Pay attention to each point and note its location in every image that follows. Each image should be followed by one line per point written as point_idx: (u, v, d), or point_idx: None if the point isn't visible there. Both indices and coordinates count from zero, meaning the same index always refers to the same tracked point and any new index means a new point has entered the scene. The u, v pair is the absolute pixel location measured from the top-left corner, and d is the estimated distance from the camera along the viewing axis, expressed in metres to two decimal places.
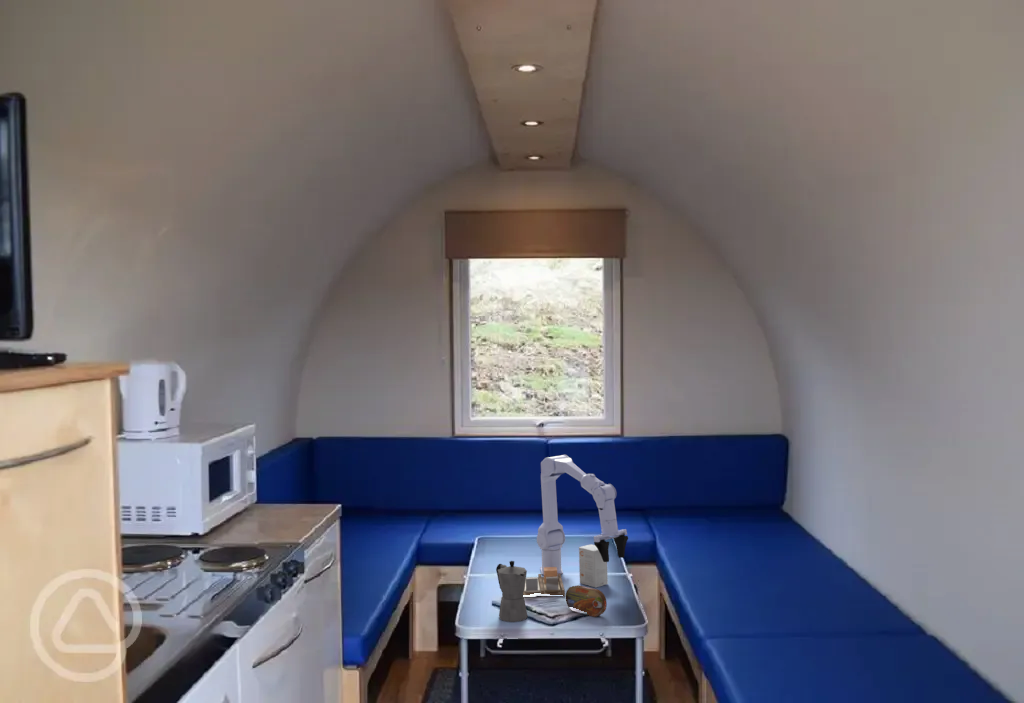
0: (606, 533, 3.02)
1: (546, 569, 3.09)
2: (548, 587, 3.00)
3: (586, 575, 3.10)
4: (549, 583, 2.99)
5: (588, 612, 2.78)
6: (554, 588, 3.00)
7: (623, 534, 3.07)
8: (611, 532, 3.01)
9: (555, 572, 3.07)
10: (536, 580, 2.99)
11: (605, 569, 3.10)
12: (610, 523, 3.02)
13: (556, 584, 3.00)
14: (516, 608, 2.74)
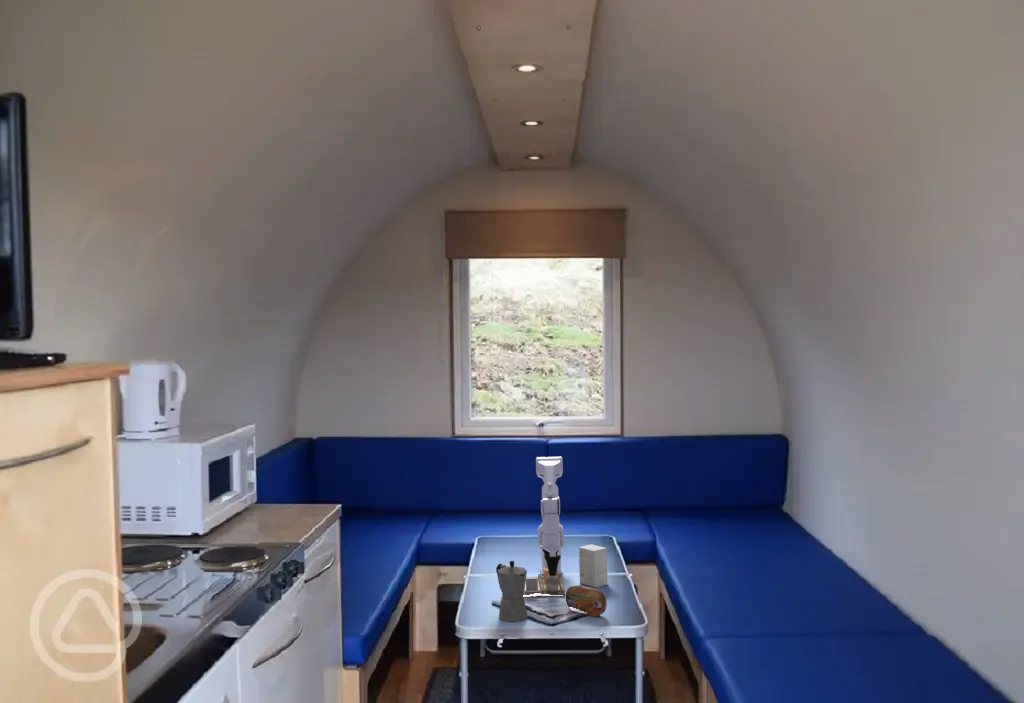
0: None
1: (546, 569, 3.09)
2: (548, 587, 3.00)
3: (586, 575, 3.10)
4: (549, 583, 2.99)
5: (588, 612, 2.78)
6: (554, 588, 3.00)
7: None
8: None
9: None
10: (536, 580, 2.99)
11: (605, 569, 3.10)
12: None
13: (556, 584, 3.00)
14: (516, 608, 2.74)
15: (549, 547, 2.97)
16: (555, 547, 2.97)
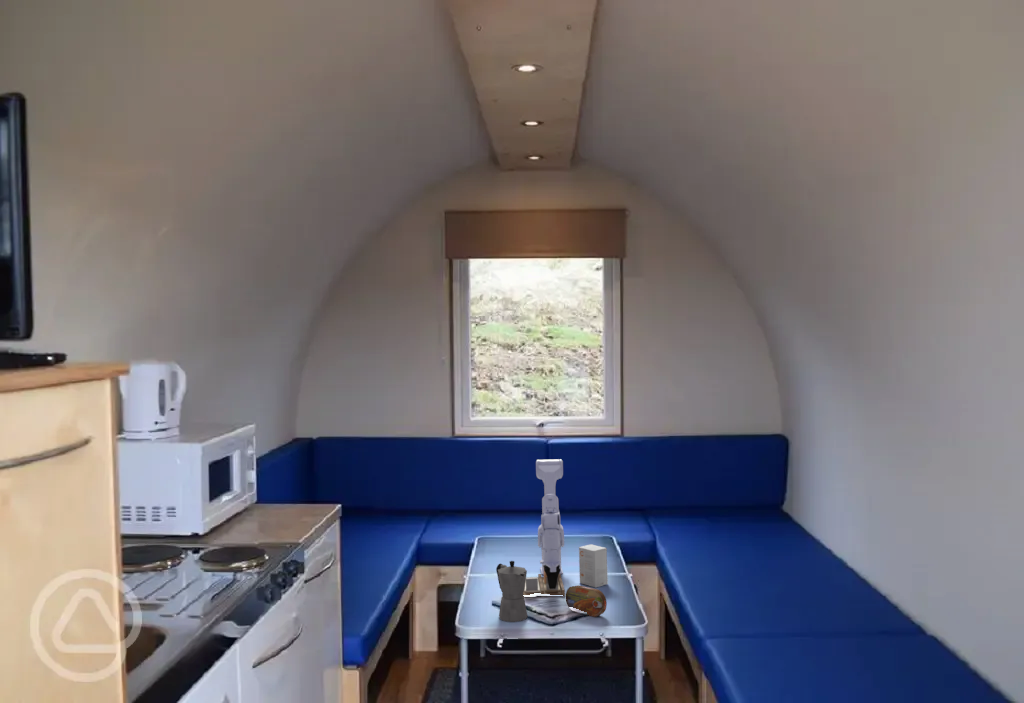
0: None
1: None
2: (548, 587, 3.00)
3: (586, 575, 3.10)
4: None
5: (588, 612, 2.78)
6: None
7: None
8: None
9: None
10: (536, 580, 2.99)
11: (605, 569, 3.10)
12: None
13: None
14: (516, 608, 2.74)
15: (549, 562, 2.97)
16: (555, 562, 2.98)
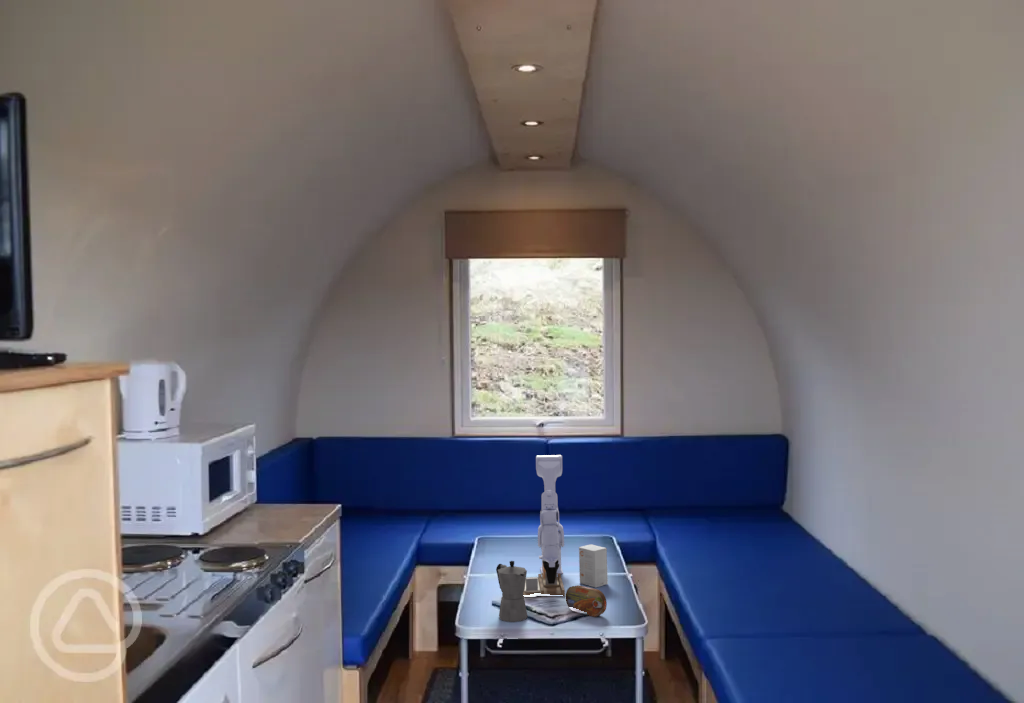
0: None
1: None
2: (547, 582, 3.05)
3: (586, 575, 3.10)
4: None
5: (588, 612, 2.78)
6: None
7: None
8: None
9: None
10: (536, 580, 2.99)
11: (605, 569, 3.10)
12: None
13: (555, 579, 3.05)
14: (516, 608, 2.74)
15: (548, 558, 3.03)
16: (554, 558, 3.04)
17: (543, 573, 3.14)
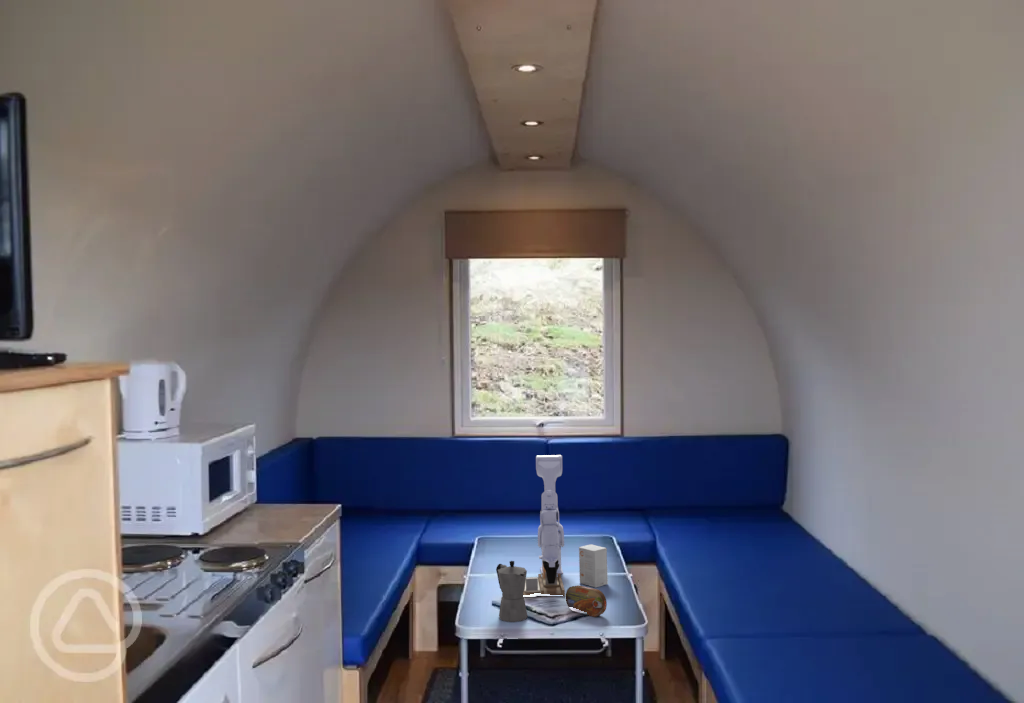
0: None
1: None
2: (547, 582, 3.05)
3: (586, 575, 3.10)
4: None
5: (588, 612, 2.78)
6: None
7: None
8: None
9: None
10: (536, 580, 2.99)
11: (605, 569, 3.10)
12: None
13: (555, 579, 3.05)
14: (516, 608, 2.74)
15: (548, 558, 3.03)
16: (554, 558, 3.04)
17: (543, 573, 3.14)
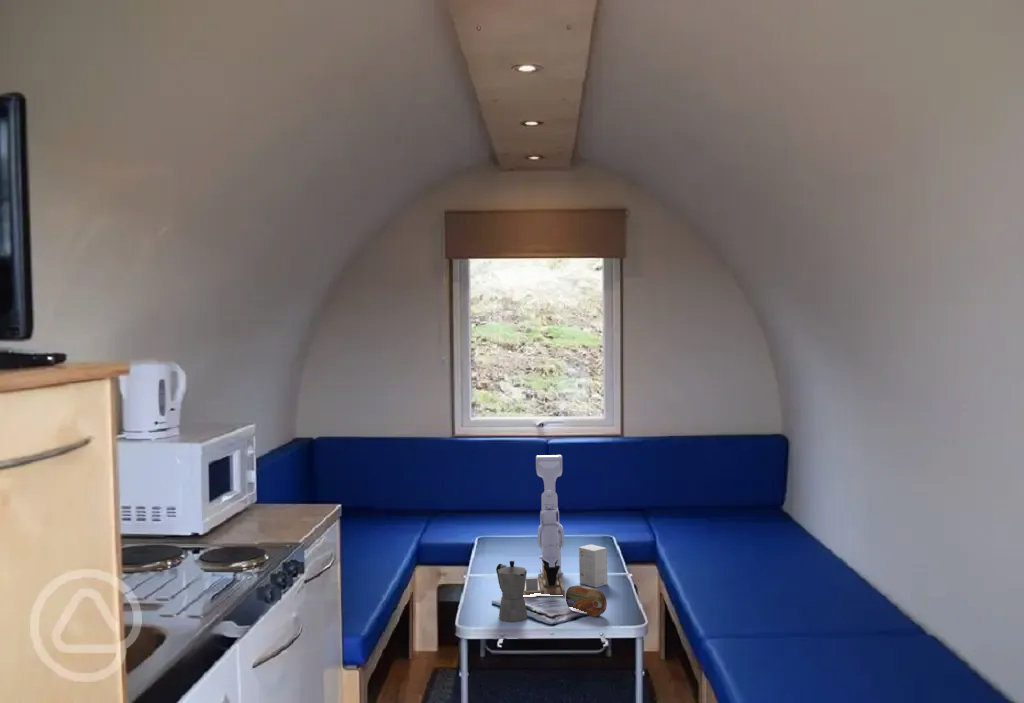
0: None
1: None
2: (547, 582, 3.05)
3: (586, 575, 3.10)
4: None
5: (588, 612, 2.78)
6: None
7: None
8: None
9: None
10: (536, 580, 2.99)
11: (605, 569, 3.10)
12: None
13: None
14: (516, 608, 2.74)
15: (548, 558, 3.03)
16: (554, 558, 3.04)
17: (543, 573, 3.14)
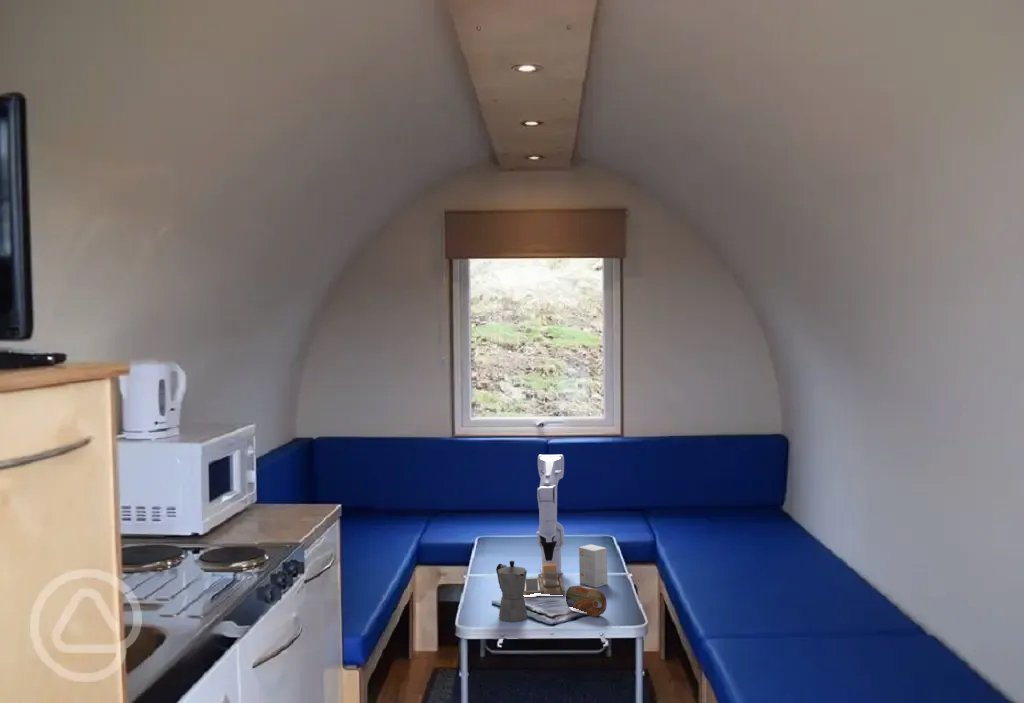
0: None
1: (545, 564, 3.15)
2: (547, 582, 3.05)
3: (586, 575, 3.10)
4: (548, 578, 3.05)
5: (588, 612, 2.78)
6: (553, 583, 3.06)
7: None
8: None
9: (554, 567, 3.13)
10: (536, 580, 2.99)
11: (605, 569, 3.10)
12: None
13: (555, 579, 3.05)
14: (516, 608, 2.74)
15: (545, 533, 3.09)
16: (551, 533, 3.09)
17: (543, 573, 3.14)
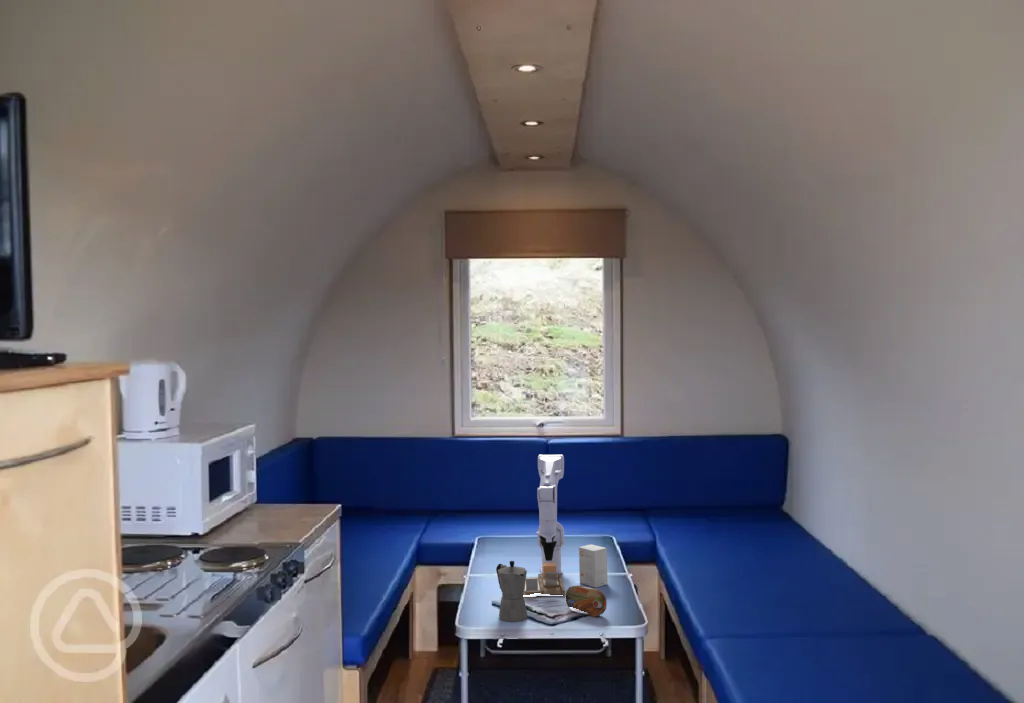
0: None
1: (545, 564, 3.15)
2: (547, 582, 3.05)
3: (586, 575, 3.10)
4: (548, 578, 3.05)
5: (588, 612, 2.78)
6: (553, 583, 3.06)
7: None
8: None
9: (554, 567, 3.13)
10: (536, 580, 2.99)
11: (605, 569, 3.10)
12: None
13: (555, 579, 3.05)
14: (516, 608, 2.74)
15: (545, 533, 3.09)
16: (551, 533, 3.09)
17: (543, 573, 3.14)
